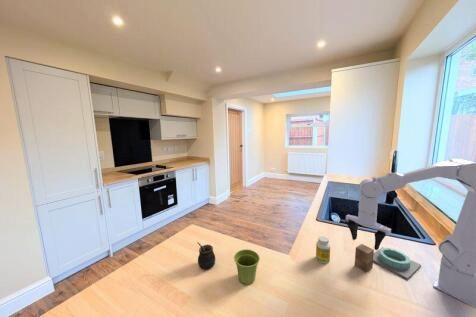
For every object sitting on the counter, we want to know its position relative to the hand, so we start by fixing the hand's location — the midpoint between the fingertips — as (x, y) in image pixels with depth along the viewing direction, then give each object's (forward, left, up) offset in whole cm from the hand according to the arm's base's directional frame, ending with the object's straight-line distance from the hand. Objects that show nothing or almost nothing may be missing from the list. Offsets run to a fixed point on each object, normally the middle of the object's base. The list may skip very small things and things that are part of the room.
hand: (365, 243), depth 71 cm
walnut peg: (0, 0, -10) cm, 10 cm away
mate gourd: (+33, +54, -10) cm, 64 cm away
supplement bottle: (+11, +10, -10) cm, 18 cm away
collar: (-5, -13, -10) cm, 17 cm away
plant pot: (+19, +43, -10) cm, 48 cm away
